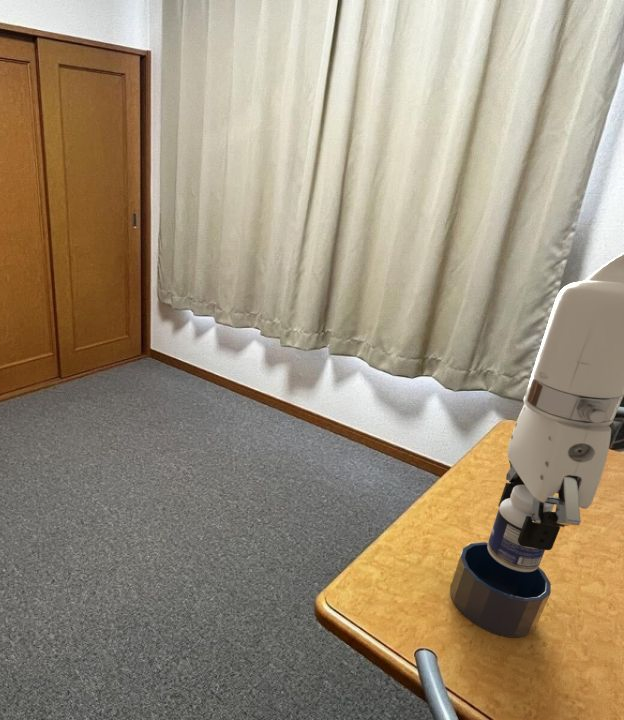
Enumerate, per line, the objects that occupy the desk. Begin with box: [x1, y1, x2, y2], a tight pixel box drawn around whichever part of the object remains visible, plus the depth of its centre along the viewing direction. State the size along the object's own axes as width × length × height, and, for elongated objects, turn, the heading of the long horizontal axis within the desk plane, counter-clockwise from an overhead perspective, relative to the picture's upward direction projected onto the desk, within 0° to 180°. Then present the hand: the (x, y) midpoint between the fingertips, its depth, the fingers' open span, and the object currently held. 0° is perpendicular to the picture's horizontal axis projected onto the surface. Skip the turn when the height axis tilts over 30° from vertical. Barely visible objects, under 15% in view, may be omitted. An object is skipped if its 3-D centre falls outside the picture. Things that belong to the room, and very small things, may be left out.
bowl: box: [449, 541, 552, 639], centre depth 62 cm, size 9×9×6 cm
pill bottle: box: [487, 485, 555, 572], centre depth 58 cm, size 5×5×10 cm
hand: (523, 526), depth 58 cm, fingers closed on pill bottle, 5 cm apart
